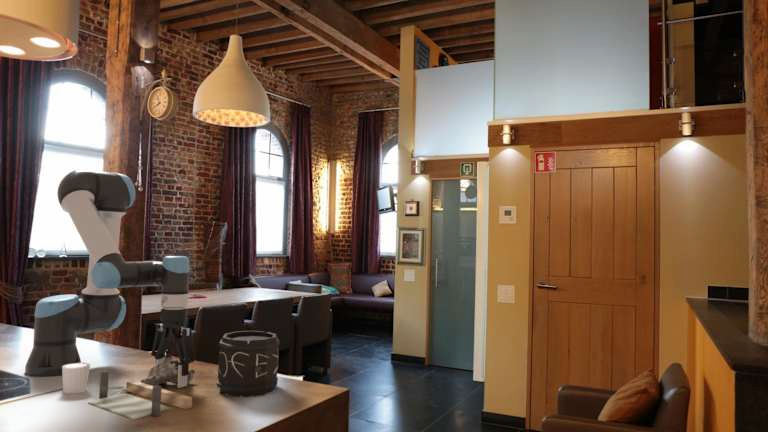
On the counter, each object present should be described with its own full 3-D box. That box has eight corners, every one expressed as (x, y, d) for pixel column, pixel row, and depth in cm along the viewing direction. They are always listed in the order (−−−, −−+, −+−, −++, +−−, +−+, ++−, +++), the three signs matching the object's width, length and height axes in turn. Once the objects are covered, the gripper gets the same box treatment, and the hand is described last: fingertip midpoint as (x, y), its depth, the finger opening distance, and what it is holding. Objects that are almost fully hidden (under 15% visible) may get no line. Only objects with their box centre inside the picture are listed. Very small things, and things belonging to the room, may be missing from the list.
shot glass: (94, 388, 155) (95, 363, 155) (73, 395, 148) (74, 369, 148) (76, 385, 157) (77, 361, 157) (54, 391, 150) (56, 366, 151)
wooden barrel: (222, 401, 147) (225, 343, 148) (210, 384, 163) (213, 331, 164) (287, 394, 155) (289, 339, 156) (269, 379, 171) (271, 328, 172)
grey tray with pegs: (81, 401, 143) (83, 374, 143) (132, 389, 155) (133, 364, 156) (140, 422, 129) (142, 392, 129) (191, 407, 141) (193, 380, 142)
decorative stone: (146, 391, 150) (145, 354, 153) (133, 392, 157) (133, 357, 159) (200, 384, 162) (199, 350, 164) (187, 385, 168) (186, 352, 170)
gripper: (140, 305, 165) (137, 380, 164) (187, 312, 153) (184, 393, 152) (162, 303, 171) (159, 375, 170) (209, 310, 159) (206, 387, 158)
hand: (171, 383), depth 161 cm, fingers closed on decorative stone, 10 cm apart
